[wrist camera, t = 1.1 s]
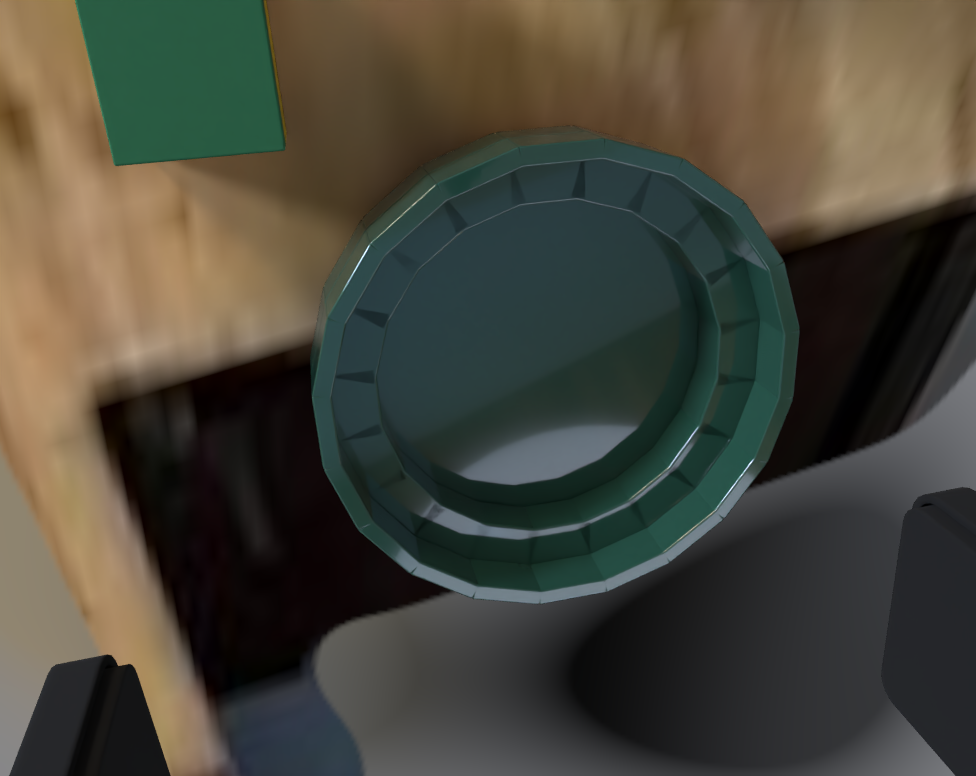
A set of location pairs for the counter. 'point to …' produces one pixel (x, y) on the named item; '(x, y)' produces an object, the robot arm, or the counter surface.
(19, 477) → the counter surface
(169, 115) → the small sponge
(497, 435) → the bowl
